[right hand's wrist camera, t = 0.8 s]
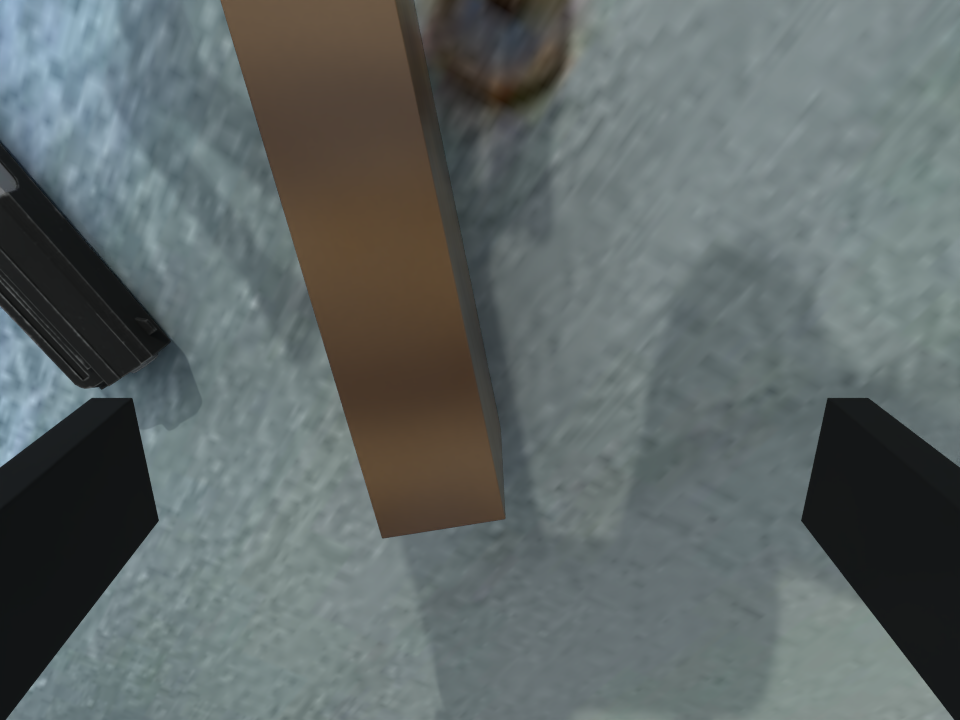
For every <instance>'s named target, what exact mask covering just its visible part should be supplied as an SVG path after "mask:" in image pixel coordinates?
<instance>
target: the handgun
mask: <svg viewBox="0 0 960 720" xmlns="http://www.w3.org/2000/svg"><path fill="white" fill-rule="evenodd" d="M0 306H1V307H2V308H3V309H4V311H5V312H6V313H7V314H8V315H9V316H10V317H11V318H12V319H13V320H14V321H15V322H16V323H17V324H18V325H19V326H20V327H21V328H22V329H23V330H24V331H25V333H26V334H27V335H28V336H29V337H30V338H31V339H32V340H33V341H34V342H35V343H36V344H37V345H38V346H39V347H40V348H41V349H42V350H43V351H44V352H45V354H46V355H47V356H48V357H49V358H50V359H51V360H52V361H53V362H54V363H55V364H56V365H57V366H58V367H59V368H60V369H61V370H62V371H63V372H64V373H65V374H66V376H67V377H68V378H69V379H70V380H71V381H72V382H73V383H74V384H75V385H77V386H79V387H81V388H84V389H86V388H95V387H99V388H100V389H101V390H102V389H104V388H105V387H107V386H110V385H111V384H113V383H115V382H116V381H118V380H119V379H121V378H122V377H124V376H125V375H127V374H128V373H130V372H132V373H136V372H137V371H139V370H140V369H142V368H143V367H145V366H146V365H148V364H149V363H150V362H152V361H153V360H154V359H156V358H157V357H158V354H157V353H158V352H159V351H160V350H162V349H163V348H164V347H165V346H167V345H168V344H169V343H170V342H171V340H170V339H169V338H168V337H167V336H166V335H165V333H164V332H163V331H162V330H161V329H160V328H159V326H158V325H157V324H156V323H155V322H154V321H153V320H152V318H151V317H150V316H149V315H148V314H147V313H146V311H145V310H144V309H143V308H142V307H141V306H140V305H139V303H138V302H137V301H136V300H135V299H134V298H133V296H132V295H131V294H130V293H129V292H128V291H127V289H126V288H125V287H124V286H123V285H122V284H121V283H120V281H119V280H118V279H117V278H116V277H115V276H114V274H113V273H112V272H111V271H110V270H109V269H108V268H107V266H106V265H105V264H104V263H103V262H102V261H101V259H100V258H99V257H98V256H97V255H96V254H95V253H94V251H93V250H92V249H91V248H90V247H89V246H88V244H87V243H86V242H85V241H84V240H83V239H82V237H81V236H80V235H79V234H78V233H77V232H76V231H75V229H74V228H73V227H72V226H71V225H70V224H69V222H68V221H67V220H66V219H65V218H64V217H63V216H62V214H61V213H60V212H59V211H58V210H57V209H56V207H55V206H54V205H53V204H52V203H51V202H50V201H49V199H48V198H47V197H46V196H45V195H44V194H43V192H42V191H41V190H40V189H39V188H38V187H37V185H36V184H35V183H34V182H33V181H32V180H31V179H30V177H29V176H28V175H27V174H26V173H25V172H24V170H23V169H22V168H21V167H20V166H19V165H18V164H17V162H16V161H15V160H14V159H13V158H12V157H11V155H10V154H9V153H8V152H7V151H6V150H5V149H4V147H3V146H2V145H1V144H0Z"/></svg>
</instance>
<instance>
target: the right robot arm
mask: <svg viewBox="0 0 960 720" xmlns="http://www.w3.org/2000/svg"><path fill="white" fill-rule="evenodd" d="M158 521H159V519H158V515H157V510H156V505H155V501H154V496H153V491H152V487H151V482H150V478H149V473H148V468H147V464H146V459H145V454H144V450H143V445H142V440H141V436H140V431H139V426H138V422H137V417H136V413H135V408H134V403H133V399H132V398H91V399H90V400H89V401H87V402H86V403H85V404H83V405H82V406H81V407H79V408H78V409H77V410H75V411H74V412H73V413H71V414H70V415H69V416H68V417H66V418H65V419H64V420H62V421H61V422H60V423H58V424H57V425H56V426H54V427H53V428H52V429H50V430H49V431H48V432H46V433H45V434H44V435H42V436H41V437H40V438H39V439H37V440H36V441H35V442H33V443H32V444H31V445H29V446H28V447H27V448H25V449H24V450H23V451H21V452H20V453H19V454H17V455H16V456H15V457H14V458H12V459H11V460H10V461H8V462H7V463H6V464H4V465H3V466H2V467H0V720H6V719H7V717H8V716H9V715H10V713H11V712H12V711H13V710H14V708H15V707H16V706H17V704H18V703H19V702H20V700H21V699H22V698H23V697H24V695H25V694H26V693H27V691H28V690H29V689H30V687H31V686H32V685H33V684H34V682H35V681H36V680H37V678H38V677H39V676H40V674H41V673H42V672H43V671H44V669H45V668H46V667H47V665H48V664H49V663H50V661H51V660H52V659H53V658H54V656H55V655H56V654H57V652H58V651H59V650H60V648H61V647H62V646H63V645H64V643H65V642H66V641H67V639H68V638H69V637H70V635H71V634H72V633H73V632H74V630H75V629H76V628H77V626H78V625H79V624H80V622H81V621H82V620H83V619H84V617H85V616H86V615H87V613H88V612H89V611H90V609H91V608H92V607H93V606H94V604H95V603H96V602H97V600H98V599H99V598H100V596H101V595H102V594H103V593H104V591H105V590H106V589H107V587H108V586H109V585H110V583H111V582H112V581H113V580H114V578H115V577H116V576H117V574H118V573H119V572H120V570H121V569H122V568H123V567H124V565H125V564H126V563H127V561H128V560H129V559H130V557H131V556H132V555H133V554H134V552H135V551H136V550H137V548H138V547H139V546H140V544H141V543H142V542H143V541H144V539H145V538H146V537H147V535H148V534H149V533H150V531H151V530H152V529H153V528H154V526H155V525H156V524H157V522H158ZM801 521H802V522H803V524H804V525H805V526H806V528H807V529H808V530H809V531H810V533H811V534H812V535H813V537H814V538H815V539H816V541H817V542H818V543H819V544H820V546H821V547H822V548H823V550H824V551H825V552H826V554H827V555H828V556H829V557H830V559H831V560H832V561H833V563H834V564H835V565H836V567H837V568H838V569H839V570H840V572H841V573H842V574H843V576H844V577H845V578H846V580H847V581H848V582H849V583H850V585H851V586H852V587H853V589H854V590H855V591H856V593H857V594H858V595H859V596H860V598H861V599H862V600H863V602H864V603H865V604H866V606H867V607H868V608H869V609H870V611H871V612H872V613H873V615H874V616H875V617H876V619H877V620H878V621H879V622H880V624H881V625H882V626H883V628H884V629H885V630H886V632H887V633H888V634H889V635H890V637H891V638H892V639H893V641H894V642H895V643H896V645H897V646H898V647H899V648H900V650H901V651H902V652H903V654H904V655H905V656H906V658H907V659H908V660H909V661H910V663H911V664H912V665H913V667H914V668H915V669H916V671H917V672H918V673H919V674H920V676H921V677H922V678H923V680H924V681H925V682H926V684H927V685H928V686H929V687H930V689H931V690H932V691H933V693H934V694H935V695H936V697H937V698H938V699H939V700H940V702H941V703H942V704H943V706H944V707H945V708H946V710H947V711H948V712H949V713H950V715H951V716H952V717H953V719H954V720H960V467H958V466H957V465H956V464H954V463H953V462H952V461H950V460H949V459H948V458H946V457H945V456H944V455H943V454H941V453H940V452H939V451H937V450H936V449H935V448H933V447H932V446H931V445H929V444H928V443H927V442H925V441H924V440H923V439H921V438H920V437H919V436H918V435H916V434H915V433H914V432H912V431H911V430H910V429H908V428H907V427H906V426H904V425H903V424H902V423H900V422H899V421H898V420H896V419H895V418H894V417H892V416H891V415H890V414H889V413H887V412H886V411H885V410H883V409H882V408H881V407H879V406H878V405H877V404H875V403H874V402H873V401H871V400H870V399H869V398H828V399H827V403H826V408H825V413H824V417H823V422H822V426H821V431H820V436H819V440H818V445H817V450H816V454H815V459H814V464H813V468H812V473H811V478H810V482H809V487H808V491H807V496H806V501H805V505H804V510H803V515H802V519H801Z"/></svg>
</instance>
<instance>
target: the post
mask: <svg viewBox="0 0 960 720" xmlns="http://www.w3.org/2000/svg"><path fill="white" fill-rule="evenodd" d="M221 4H222V7H223V10H224V14H225V17H226V20H227V24H228V27H229V30H230V34H231V37H232V40H233V44H234V47H235V50H236V54H237V57H238V60H239V64H240V67H241V70H242V74H243V77H244V80H245V84H246V87H247V90H248V94H249V97H250V100H251V103H252V107H253V110H254V113H255V117H256V120H257V123H258V127H259V130H260V133H261V137H262V140H263V143H264V147H265V150H266V153H267V157H268V160H269V163H270V167H271V170H272V173H273V177H274V180H275V183H276V187H277V190H278V193H279V197H280V200H281V203H282V207H283V210H284V213H285V217H286V220H287V223H288V227H289V230H290V233H291V237H292V240H293V243H294V247H295V250H296V253H297V257H298V260H299V263H300V267H301V270H302V273H303V277H304V280H305V283H306V287H307V290H308V293H309V297H310V300H311V303H312V307H313V310H314V313H315V317H316V320H317V323H318V327H319V330H320V333H321V336H322V340H323V343H324V346H325V350H326V353H327V356H328V360H329V363H330V366H331V370H332V373H333V376H334V380H335V383H336V386H337V390H338V393H339V396H340V400H341V403H342V406H343V410H344V413H345V416H346V420H347V423H348V426H349V430H350V433H351V436H352V440H353V443H354V446H355V450H356V453H357V456H358V460H359V463H360V466H361V470H362V473H363V476H364V480H365V483H366V486H367V490H368V493H369V496H370V500H371V503H372V506H373V510H374V513H375V516H376V520H377V523H378V526H379V530H380V533H381V536H382V538H389V537H395V536H402V535H408V534H414V533H421V532H427V531H433V530H439V529H446V528H452V527H458V526H465V525H471V524H477V523H484V522H490V521H496V520H502V519H505V518H506V517H505V498H504V480H503V462H502V443H501V428H500V423H499V418H498V413H497V408H496V403H495V398H494V393H493V388H492V384H491V379H490V374H489V369H488V364H487V359H486V354H485V349H484V344H483V339H482V334H481V330H480V325H479V320H478V315H477V310H476V305H475V300H474V295H473V290H472V285H471V280H470V275H469V271H468V266H467V261H466V256H465V251H464V246H463V241H462V236H461V231H460V226H459V221H458V217H457V212H456V207H455V202H454V197H453V192H452V187H451V182H450V177H449V172H448V167H447V162H446V158H445V153H444V148H443V143H442V138H441V133H440V128H439V123H438V118H437V113H436V108H435V104H434V99H433V94H432V89H431V84H430V79H429V74H428V69H427V64H426V59H425V54H424V49H423V45H422V40H421V35H420V30H419V25H418V20H417V15H416V10H415V5H414V0H221Z"/></svg>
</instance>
